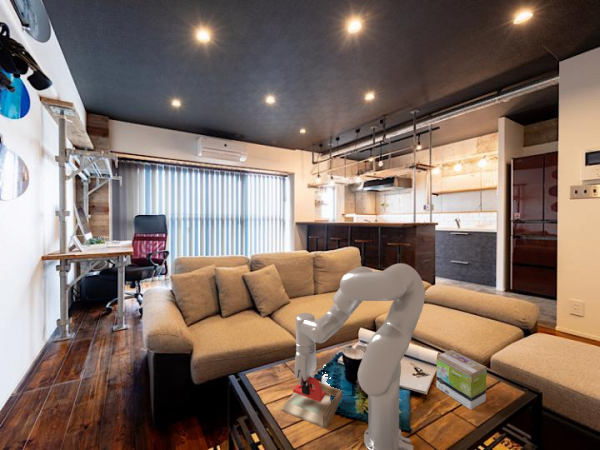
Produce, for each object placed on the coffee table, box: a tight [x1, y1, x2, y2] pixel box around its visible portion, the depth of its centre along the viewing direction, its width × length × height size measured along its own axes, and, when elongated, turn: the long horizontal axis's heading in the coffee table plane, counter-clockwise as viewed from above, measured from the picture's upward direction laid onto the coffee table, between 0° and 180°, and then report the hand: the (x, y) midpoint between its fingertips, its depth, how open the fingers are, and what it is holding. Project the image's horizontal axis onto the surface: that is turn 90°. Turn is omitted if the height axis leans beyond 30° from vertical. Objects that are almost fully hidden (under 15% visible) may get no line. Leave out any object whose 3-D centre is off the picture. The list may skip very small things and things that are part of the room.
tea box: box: [436, 349, 488, 411], centre depth 113 cm, size 15×10×15 cm, turn 27°
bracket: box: [292, 377, 325, 402], centre depth 109 cm, size 12×4×8 cm, turn 60°
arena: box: [280, 379, 343, 430], centre depth 109 cm, size 19×16×4 cm
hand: (306, 391), depth 108 cm, fingers closed on bracket, 1 cm apart
